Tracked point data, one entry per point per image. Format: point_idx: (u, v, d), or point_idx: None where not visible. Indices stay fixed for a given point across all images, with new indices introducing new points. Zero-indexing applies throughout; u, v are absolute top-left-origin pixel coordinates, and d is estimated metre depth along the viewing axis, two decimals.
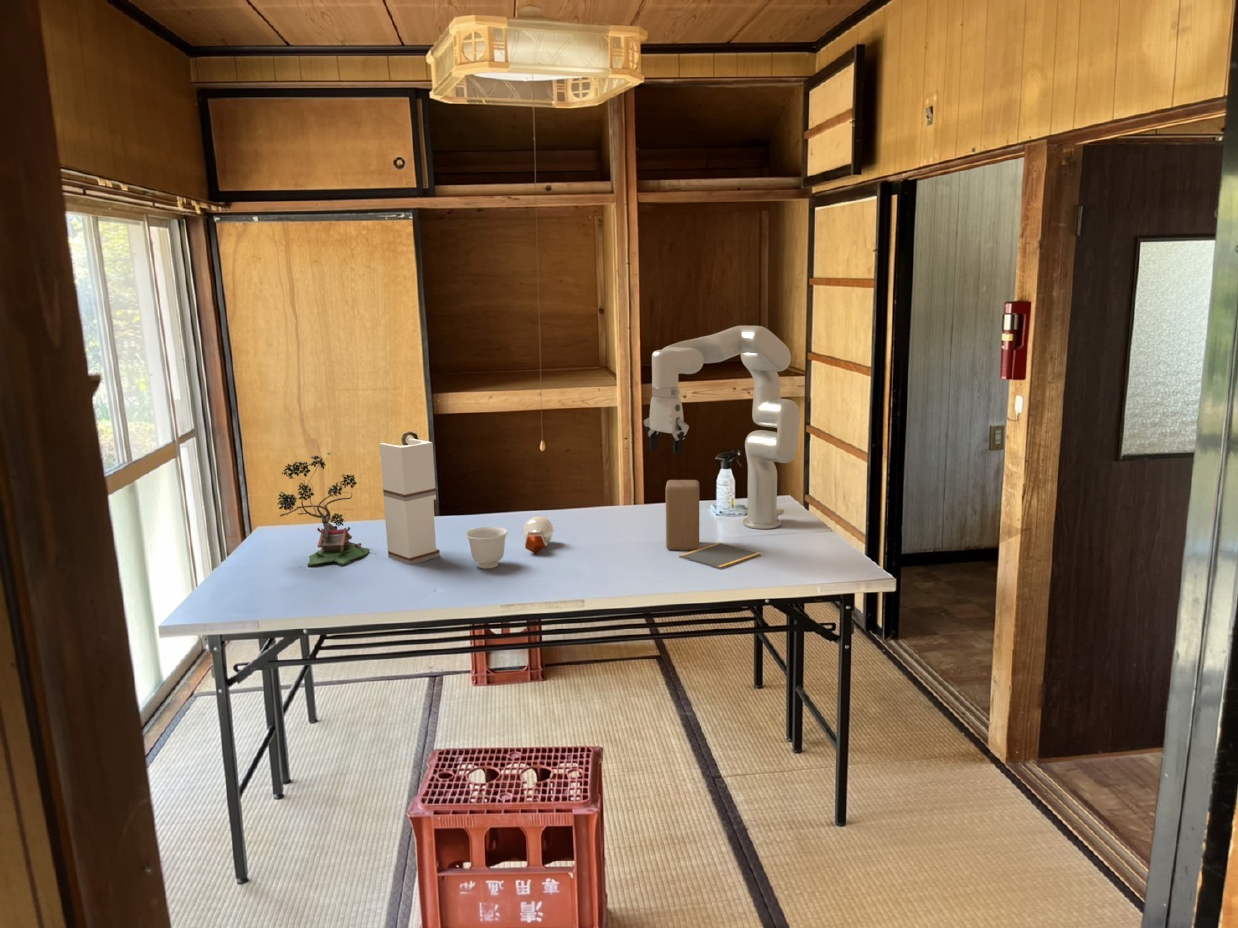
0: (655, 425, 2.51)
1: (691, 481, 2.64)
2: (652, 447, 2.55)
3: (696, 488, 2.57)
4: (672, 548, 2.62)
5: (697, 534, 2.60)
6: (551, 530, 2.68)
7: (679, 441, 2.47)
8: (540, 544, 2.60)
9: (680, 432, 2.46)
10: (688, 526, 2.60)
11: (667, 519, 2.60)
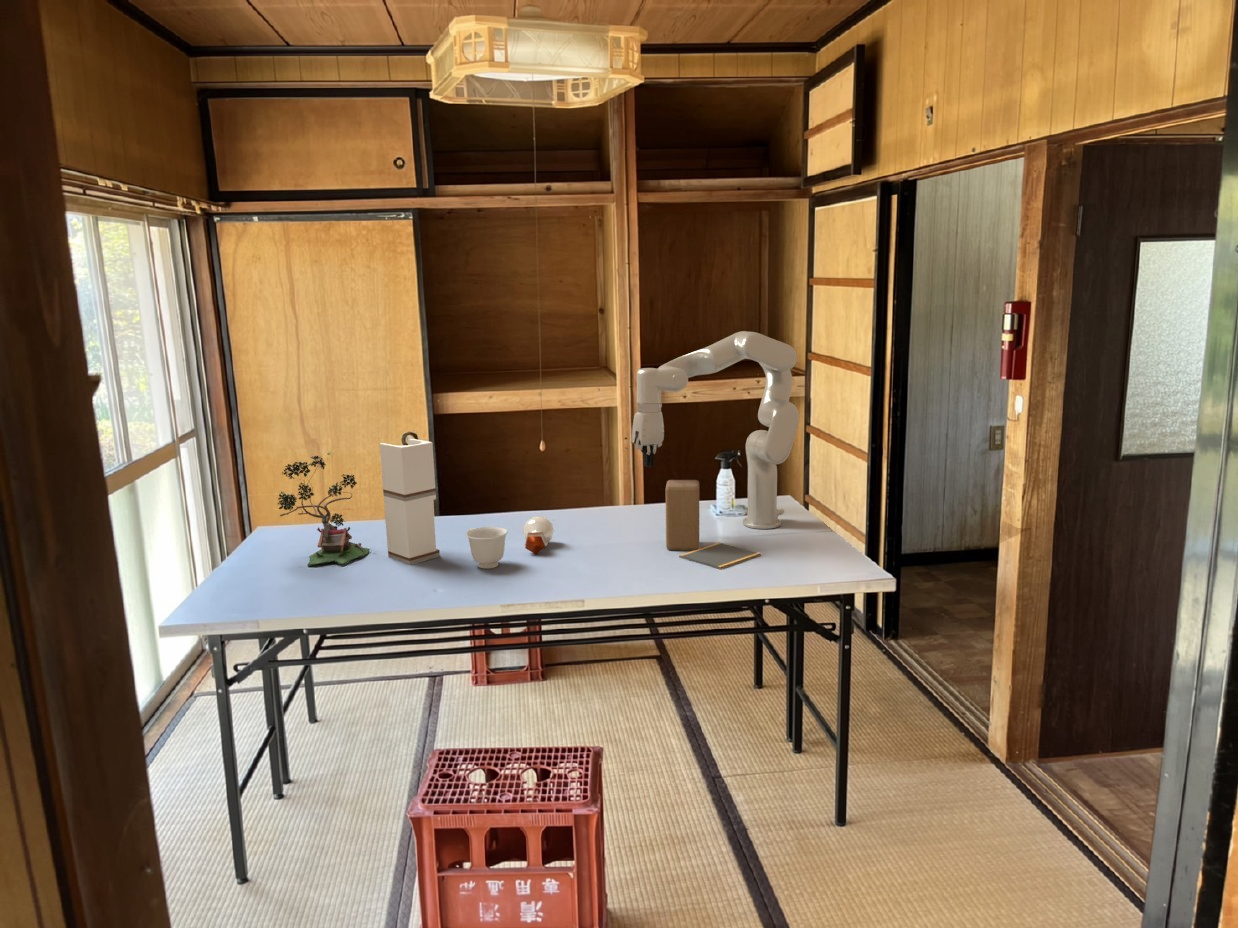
0: (649, 439, 2.67)
1: (691, 481, 2.64)
2: None
3: (696, 488, 2.57)
4: (672, 548, 2.62)
5: (697, 534, 2.60)
6: (551, 530, 2.67)
7: None
8: (540, 544, 2.60)
9: None
10: (688, 526, 2.60)
11: (667, 519, 2.60)
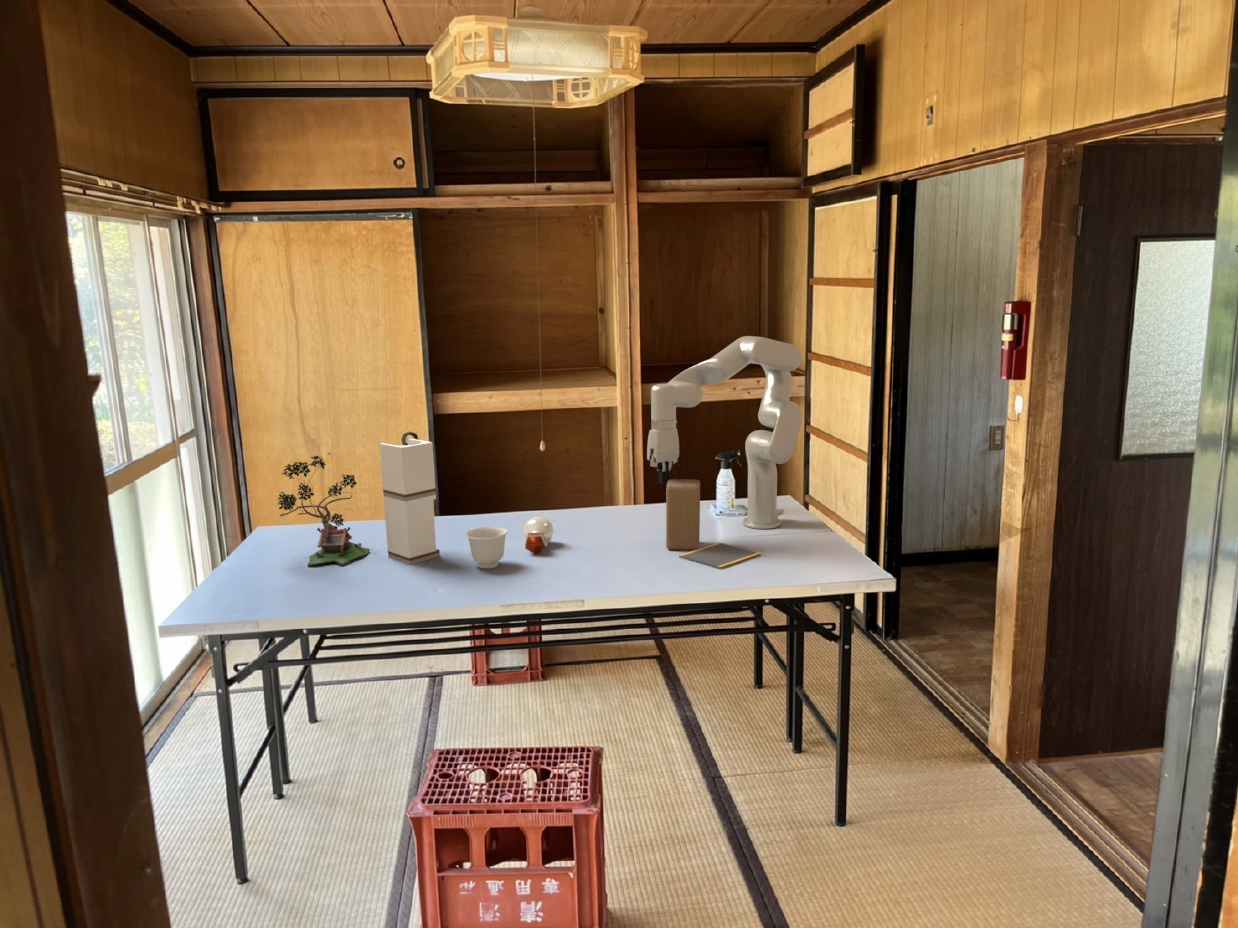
0: (664, 456, 2.63)
1: (692, 481, 2.63)
2: None
3: (697, 488, 2.57)
4: (672, 548, 2.62)
5: (697, 534, 2.60)
6: (551, 530, 2.67)
7: None
8: (540, 544, 2.60)
9: None
10: (689, 526, 2.59)
11: (667, 519, 2.60)
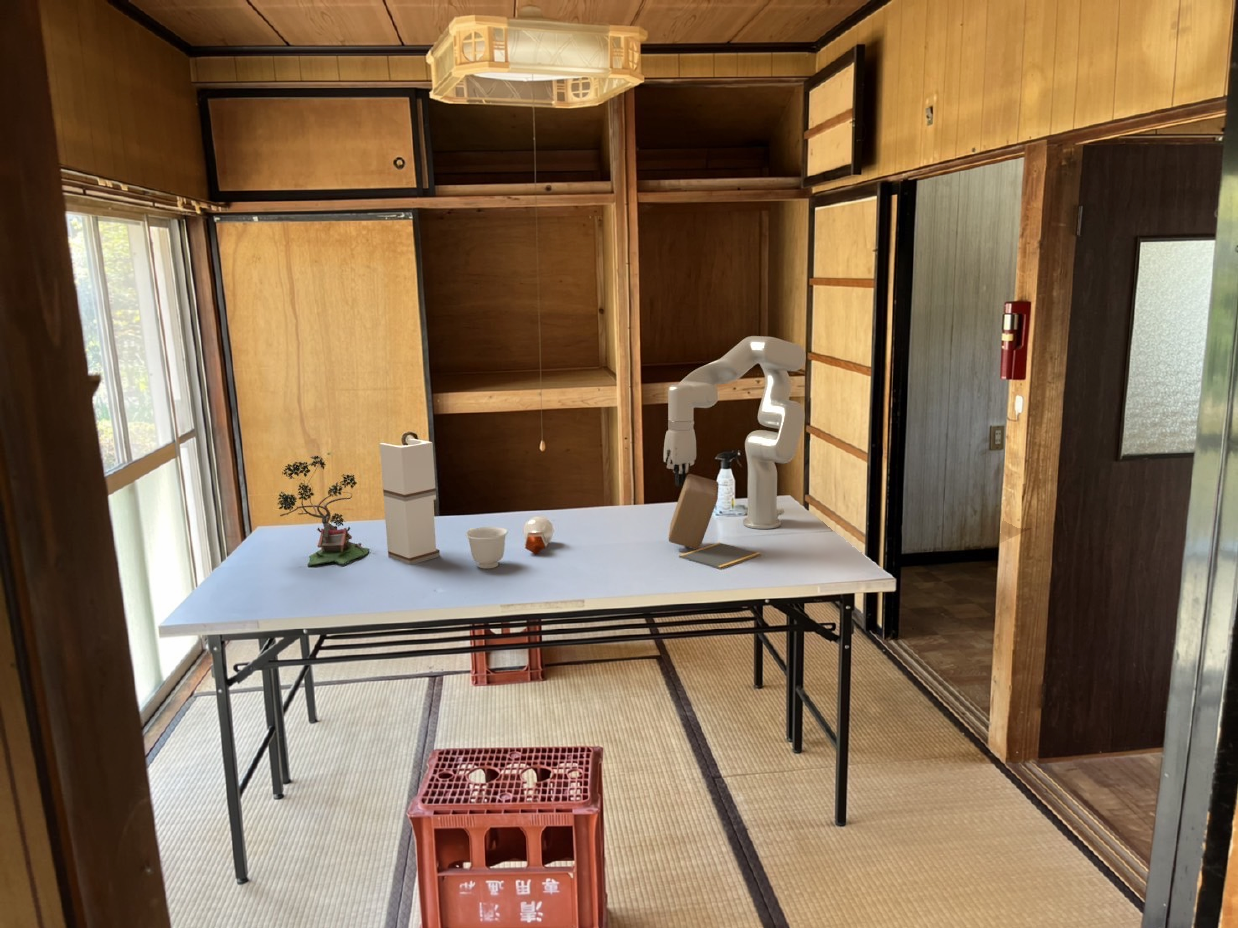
0: (681, 458, 2.58)
1: (711, 483, 2.57)
2: None
3: (715, 498, 2.51)
4: (674, 542, 2.61)
5: (702, 537, 2.59)
6: (551, 530, 2.67)
7: None
8: (540, 544, 2.60)
9: None
10: (696, 528, 2.57)
11: (677, 517, 2.56)
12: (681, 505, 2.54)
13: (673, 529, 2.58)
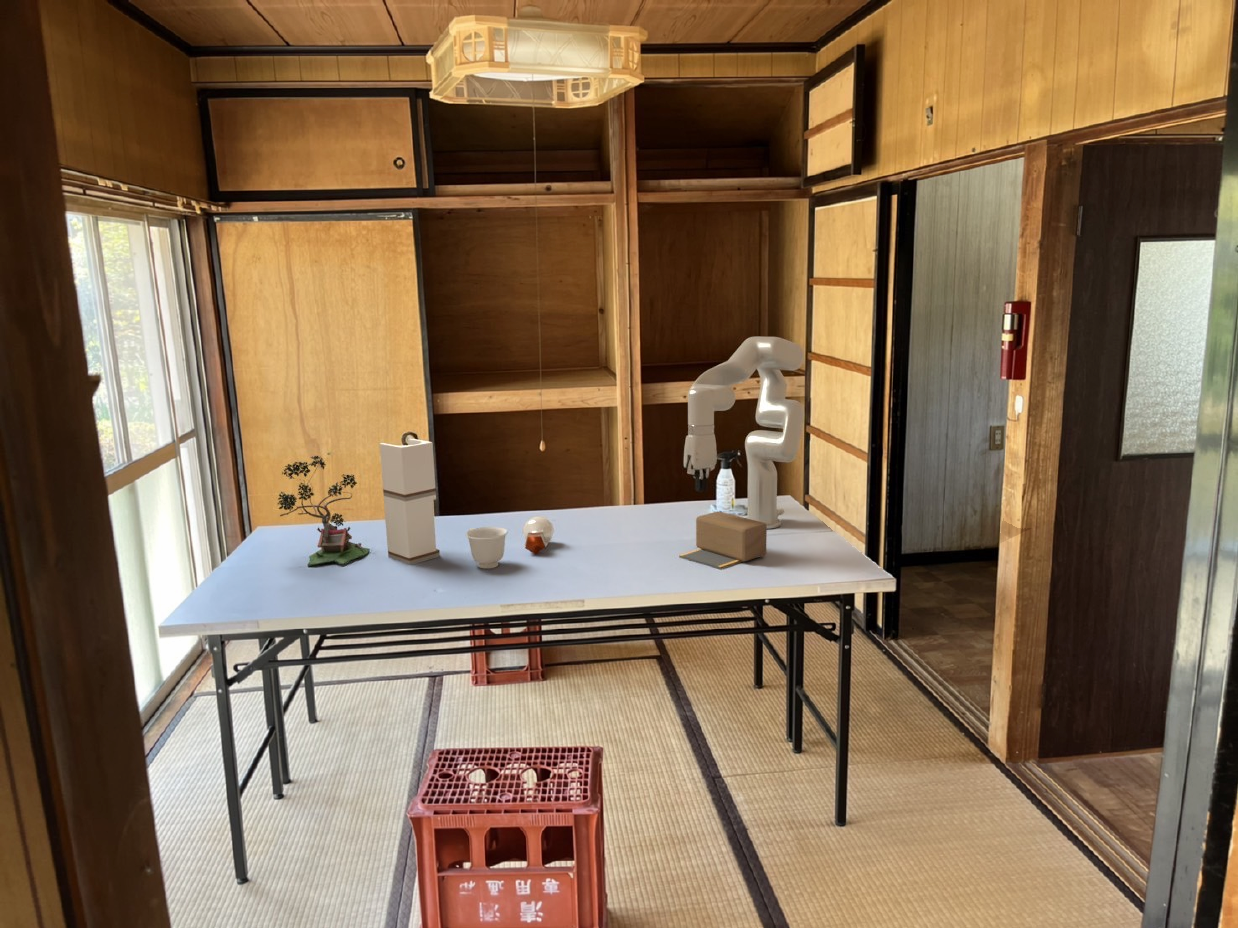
0: (702, 463, 2.52)
1: (760, 550, 2.51)
2: None
3: (743, 559, 2.47)
4: (696, 522, 2.60)
5: (707, 549, 2.58)
6: (551, 530, 2.67)
7: None
8: (540, 544, 2.60)
9: None
10: (713, 543, 2.55)
11: (719, 523, 2.53)
12: (729, 526, 2.49)
13: (707, 520, 2.56)
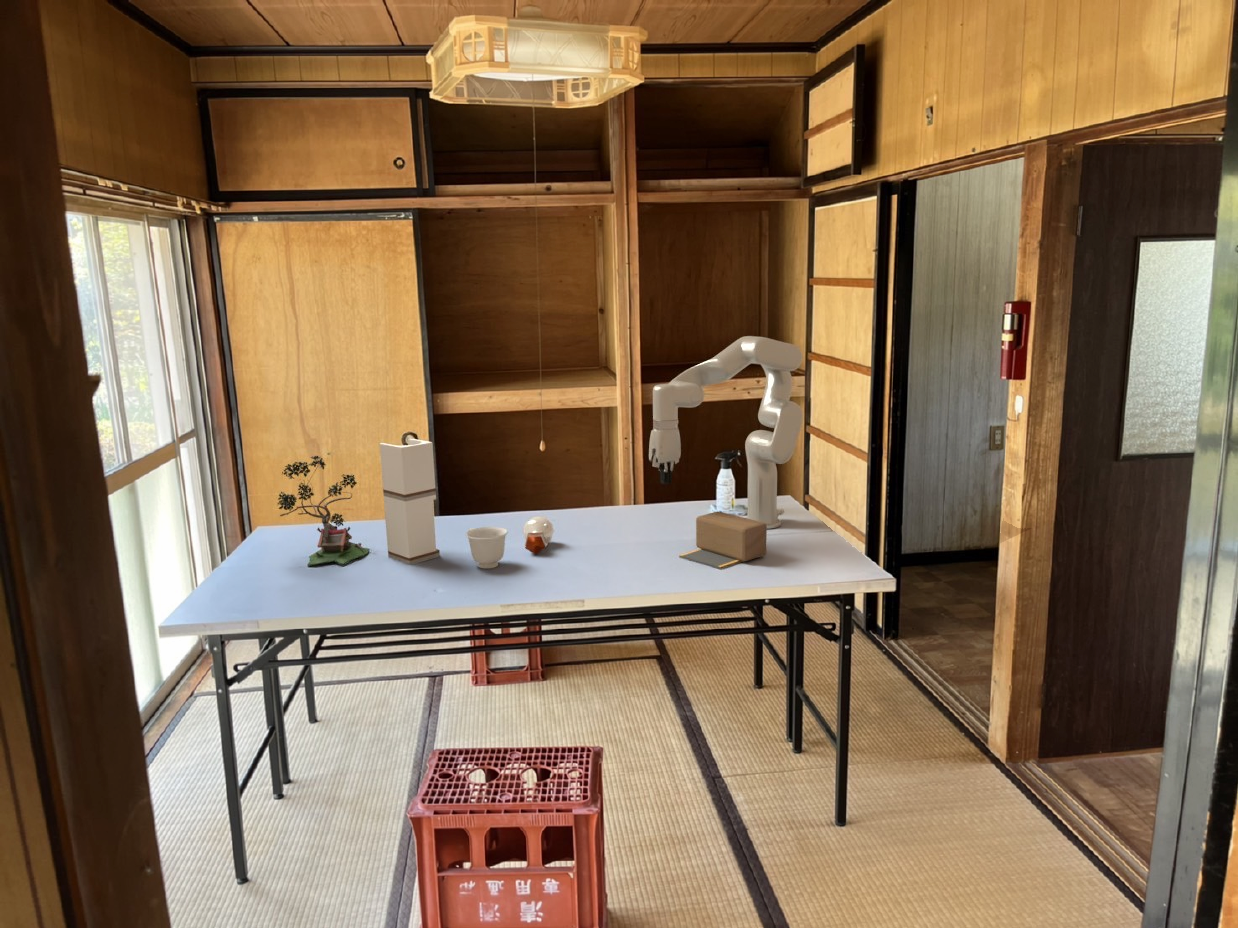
0: (666, 457, 2.63)
1: (760, 550, 2.51)
2: None
3: (743, 559, 2.47)
4: (696, 522, 2.60)
5: (707, 549, 2.58)
6: (551, 530, 2.67)
7: None
8: (540, 544, 2.60)
9: None
10: (713, 543, 2.55)
11: (719, 523, 2.53)
12: (729, 526, 2.49)
13: (707, 520, 2.56)
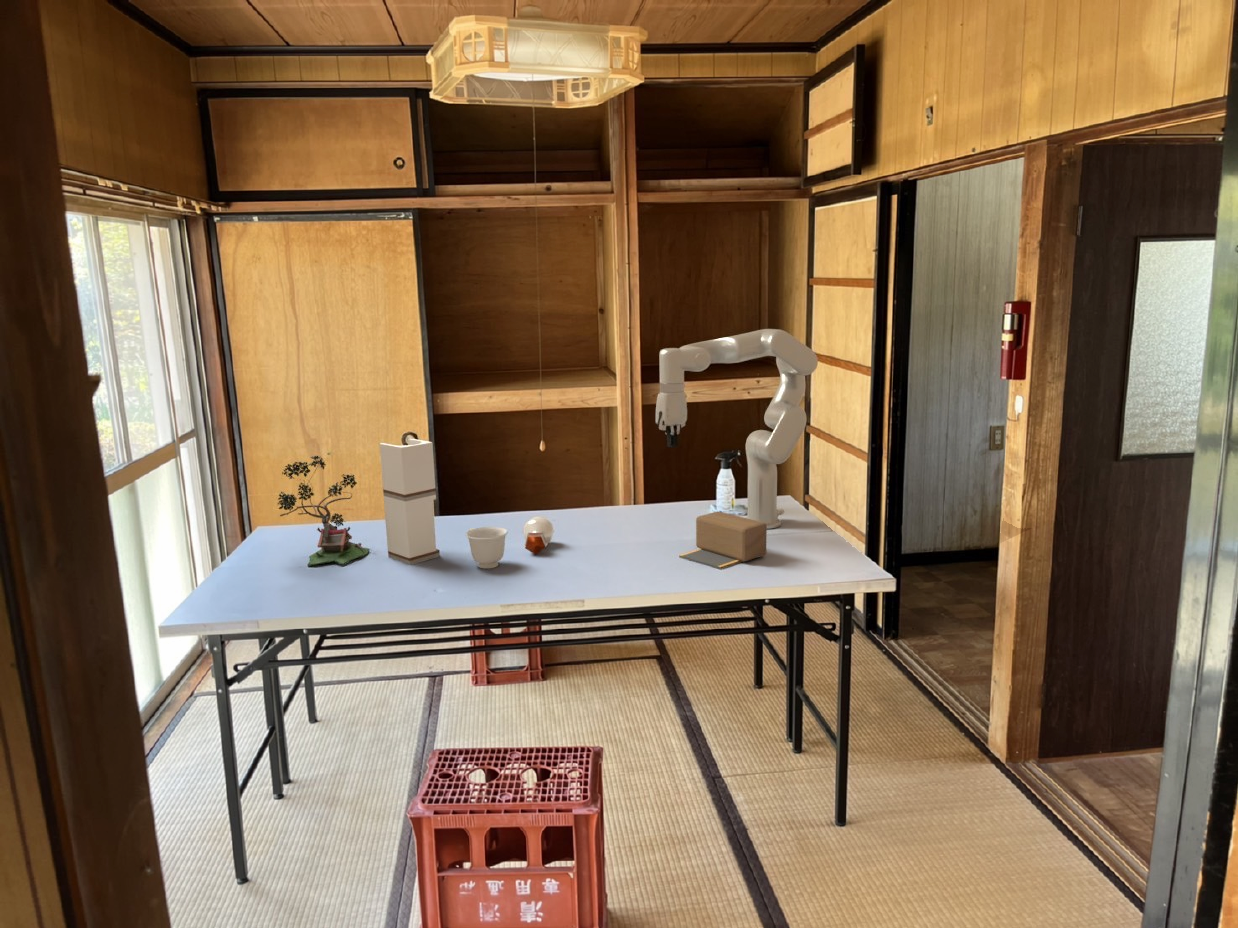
0: (672, 419, 2.67)
1: (760, 550, 2.51)
2: None
3: (743, 559, 2.47)
4: (696, 522, 2.60)
5: (707, 549, 2.58)
6: (551, 530, 2.67)
7: None
8: (540, 544, 2.60)
9: None
10: (713, 543, 2.55)
11: (719, 523, 2.53)
12: (729, 526, 2.49)
13: (707, 520, 2.56)
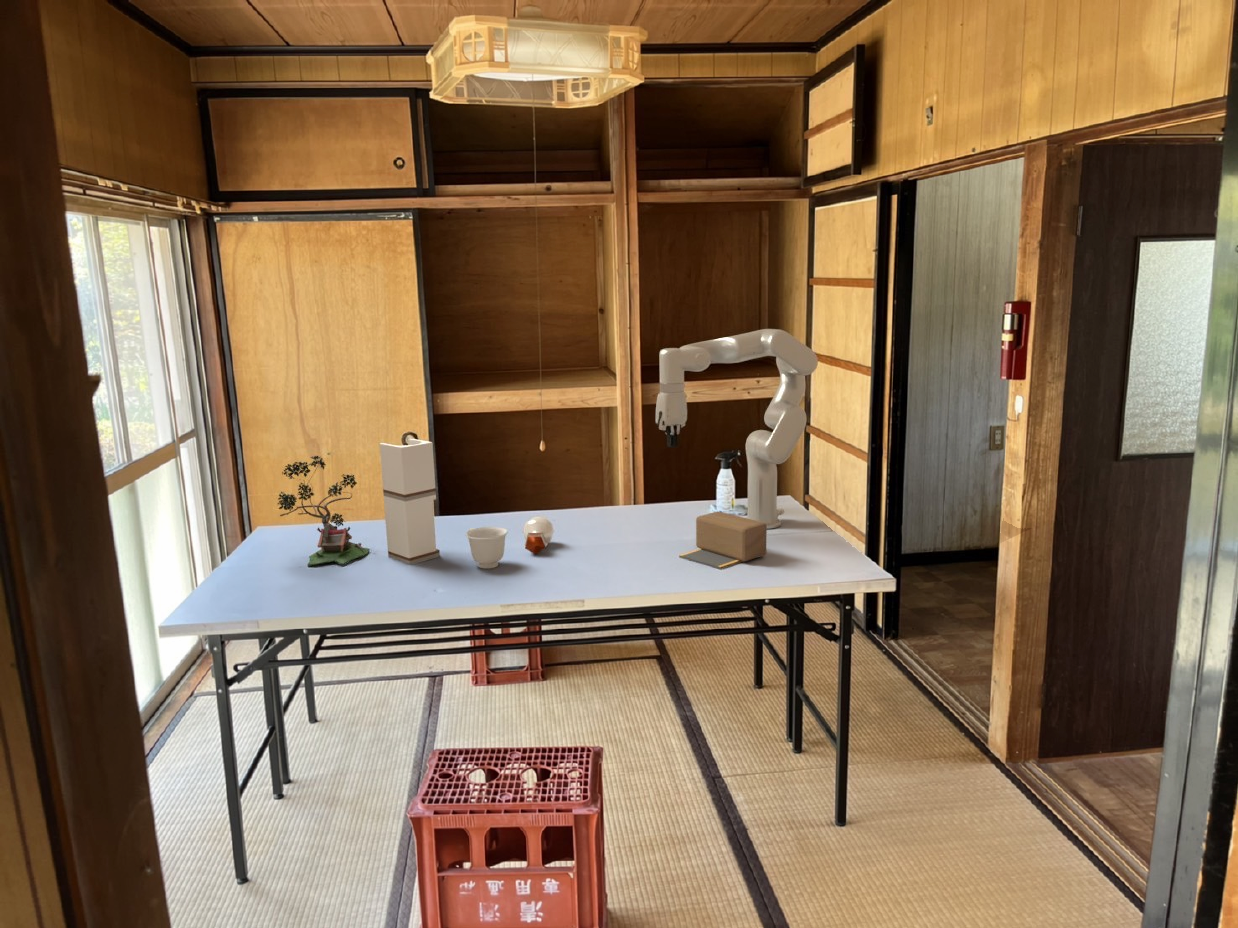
0: (672, 419, 2.67)
1: (760, 550, 2.51)
2: None
3: (743, 559, 2.47)
4: (696, 522, 2.60)
5: (707, 549, 2.58)
6: (551, 530, 2.67)
7: None
8: (540, 544, 2.60)
9: None
10: (713, 543, 2.55)
11: (719, 523, 2.53)
12: (729, 526, 2.49)
13: (707, 520, 2.56)
